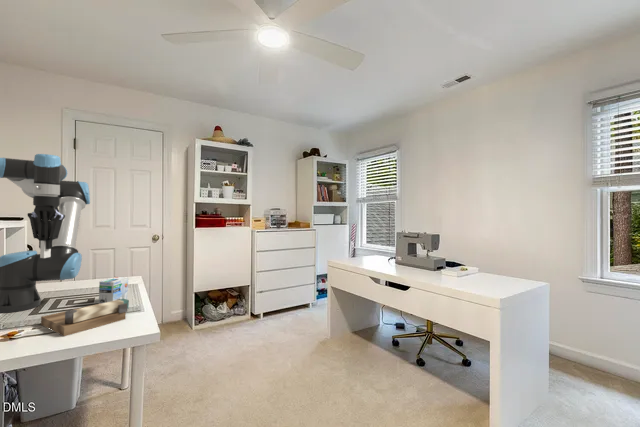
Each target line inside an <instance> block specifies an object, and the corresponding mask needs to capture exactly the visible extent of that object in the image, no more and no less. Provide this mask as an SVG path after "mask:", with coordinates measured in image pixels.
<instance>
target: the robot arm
mask: <svg viewBox="0 0 640 427" xmlns="http://www.w3.org/2000/svg"><path fill="white" fill-rule="evenodd" d="M33 158H34V159H33V160H32V159H31V160H30V159H19V158H9V157H0V179H7V180H8V181H10V182H12V183H13V184H14V185H16V186H17V187H19V188H20V189H21V191H22V193H24V194H25V195H26V196H28V197H29V198H31V199H32V200H33V202H32V205H33V206H34V208H33V211H32V212H29V213H27V214H26V215H27V217H28V219H29V221H30V222H29V223H30V226H31V231H32V236H33V239H37V240H38V241H39V242H38V248H39V250H40V252H39V253H38V251H37V250H24V251H18V252H11V253H6V254H3V255H1V256H0V313H2V314H5V313H14V312H22V311H27V310H31V309H34V308H37V307H39V306H41V303H42V302H41V301H42V300H41V296H40V294H39V292H38V289H37V287H36V286H37V283H36V282H45V281H47V282H49V281H65V280H72V279H75V278H76V277H77V276H78V274H79V272H80V269H81V266H82V259H83V258H82V256H83V255H82V254H81V253H80V252H79V250H78V248H76V243H77V238H78V231H79V226H80V218H81V215H82V214H81V211H82V210H83V209H85V208H86V206H87V205H90V203H91V197H90V196H91V194H90V188H89V183H87V182H85V181H79V180H77V181H76V180H75V181H73V180H65V179H66V178H67V176H68V169H67V168H66V166H64V165H63V164H62V163H61V162H62V160H61V157H60V156H59V155H56V154H55V155H54V154H47V153H36V154H34V157H33Z"/></svg>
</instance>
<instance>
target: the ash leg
mask: <svg viewBox="0 0 640 427" xmlns="http://www.w3.org/2000/svg"><path fill="white" fill-rule="evenodd" d="M125 303H127V304H128V309H127V310H129V307H130V306H129V305H130V301H129V299H128V300H127V299H120V300H115V301H111V302H107V303H102V304H99V303H97V304H98V305H96V304H93V306H92V305H88V306H89V307H87V306H84V307H85V308H83V307H79V308H80V309H78V308H75V309H76V310H74V309H69V310H65V311H66V312H65V311H64V312H65V324H71V323H76V322H79V321H83V320H87V319H91V318H95V317H99V316H102V315H106V314H110V313H114V312H118V305H121V304H125Z"/></svg>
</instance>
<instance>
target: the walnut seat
mask: <svg viewBox="0 0 640 427" xmlns="http://www.w3.org/2000/svg"><path fill="white" fill-rule="evenodd" d="M98 304H99V303H97V304H95V305H98ZM101 304H102V303H101ZM93 305H94V304H93ZM93 305H92V304H91V306H93ZM89 306H90V305H87V306H83V307H82V308H85V307H89ZM80 308H81V307H79V308H74V309H73V310H76V309H80ZM128 310H129V309H128V304H127V303H125V304H121V305H118V312H114V313H110V314H106V315H102V316H99V317H95V318H91V319H87V320H83V321H79V322H76V323H71V324H65V312H66V311H67V310H65V311H61V312H56V313H52V314H46V315H43V316H40V326H42V327H43V328H47V329H48V328H50V329H52V330H53V331H52V330H51V331H52V332H54V331H55V333H57V334H59V335H61V336H62V337H66V336H70V335H73V334H74V335H75V334H77V333H81V332H84V331H85V332H86V331H88V330H93V329H95V328H100V327H101V326H106V325H110V324H113V323H117V322H120V321H123V320H126V314H127V313H126V312H128ZM50 329H49V330H50Z"/></svg>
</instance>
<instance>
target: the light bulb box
mask: <svg viewBox="0 0 640 427" xmlns="http://www.w3.org/2000/svg"><path fill="white" fill-rule="evenodd" d="M98 286H99V287H98V304H101V303H107V302H111V301H115V300H120V299H127V300H129V298H128V294H129V277H126V276H125V277H124V276H114V277H111V278H110V277H109V278H107V279H104V280H101V281H99V285H98Z"/></svg>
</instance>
